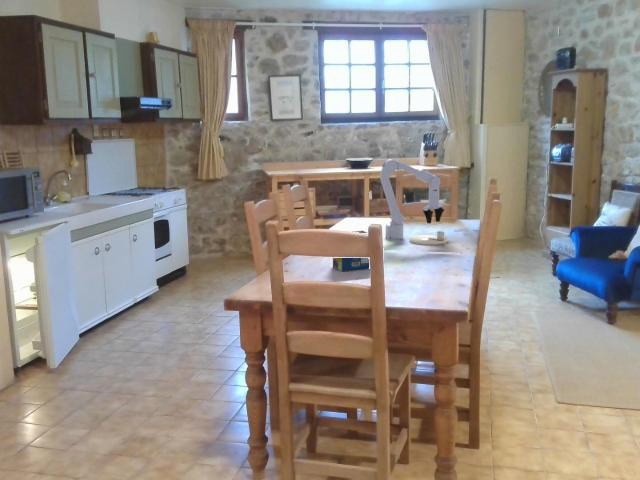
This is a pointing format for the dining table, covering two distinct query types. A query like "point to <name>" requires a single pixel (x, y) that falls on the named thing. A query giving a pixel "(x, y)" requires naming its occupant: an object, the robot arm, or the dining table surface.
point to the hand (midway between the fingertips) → (433, 222)
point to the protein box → (351, 262)
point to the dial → (429, 239)
